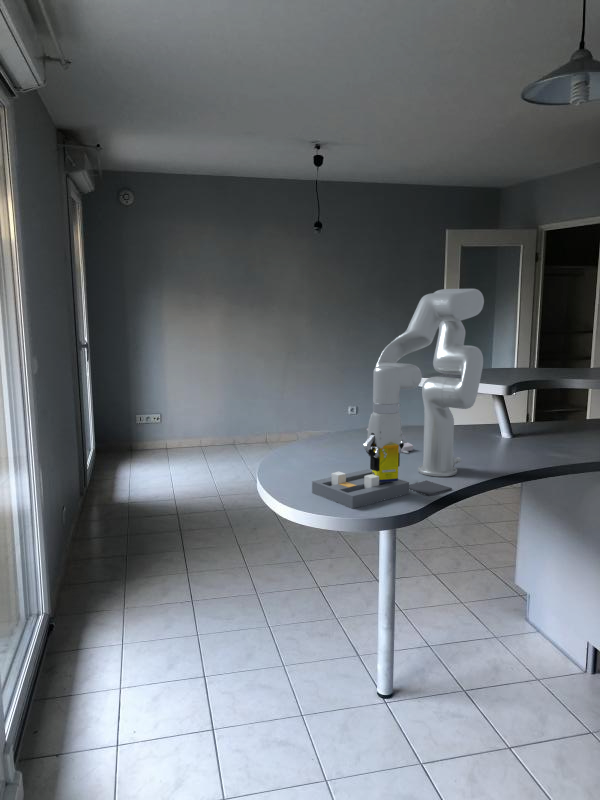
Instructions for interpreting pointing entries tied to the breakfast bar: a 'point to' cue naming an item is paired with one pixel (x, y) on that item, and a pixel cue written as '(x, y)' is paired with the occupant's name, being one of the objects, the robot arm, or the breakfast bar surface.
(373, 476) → the switch
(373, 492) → the grey compartment tray
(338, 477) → the switch
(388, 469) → the supplement box
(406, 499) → the breakfast bar surface
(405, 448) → the mobile phone
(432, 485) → the mat
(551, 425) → the breakfast bar surface
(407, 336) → the robot arm
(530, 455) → the breakfast bar surface
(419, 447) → the breakfast bar surface
